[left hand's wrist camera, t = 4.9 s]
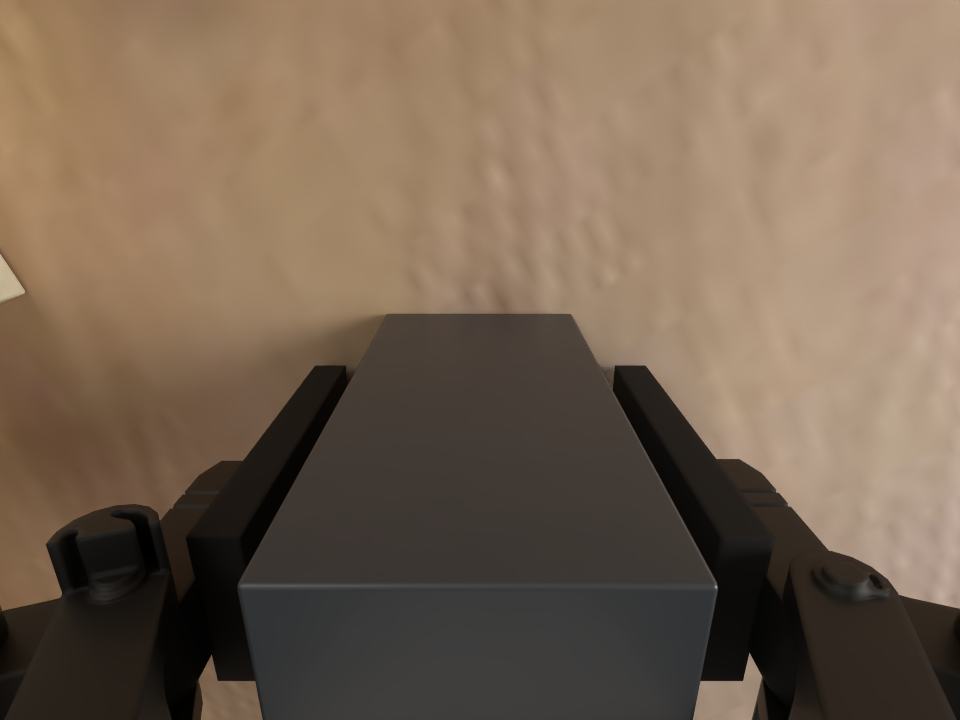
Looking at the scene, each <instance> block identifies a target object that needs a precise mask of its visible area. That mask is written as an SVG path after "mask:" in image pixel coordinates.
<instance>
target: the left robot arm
mask: <svg viewBox="0 0 960 720" xmlns="http://www.w3.org/2000/svg"><path fill="white" fill-rule="evenodd" d="M347 386H348V385H347V374H346V366H315V367H314V368H313V369H312V371H311V372H310V373H309V375H308V376H307V377H306V379H305V380H304V381H303V383H302V384H301V385H300V387H299V388H298V389H297V391H296V392H295V393H294V394H293V396H292V397H291V398H290V400H289V401H288V402H287V404H286V405H285V406H284V408H283V409H282V410H281V412H280V413H279V414H278V416H277V417H276V418H275V420H274V421H273V422H272V424H271V425H270V426H269V428H268V429H267V430H266V431H265V433H264V434H263V435H262V437H261V438H260V439H259V441H258V442H257V443H256V445H255V446H254V447H253V449H252V450H251V451H250V453H249V454H248V455H247V457H246V458H245V459H244V461H221V462H219V463H218V464H216V465H215V466H213V467H211V468H210V469H208V470H207V471H205V472H204V473H202V474H200V475H199V476H198V477H197V479H196V480H195V481H194V482H193V483H192V484H191V486H190V487H189V488H188V489H187V490H186V491H185V495H182V496H181V497H180V498H179V499H178V501H177V502H176V503H175V504H174V507H173V509H170V510H169V511H168V512H167V513H166V515H165V516H164V517H163V518H162V519H161V520H159V516H158V513H157V512H155V511H154V510H153V509H152V508H150V507H148V506H142V505H136V504H131V505H118V506H113V507H109V508H105V509H101V510H97V511H94V512H92V513H89V514H87V515H85V516H82V517H80V518H78V519H75V520H73V521H72V522H70V523H69V524H67V525H66V526H64V527H63V528H61V529H60V530H58V531H57V532H56V533H55V534H54V535H53V536H52V538H51V539H50V540H49V541H48V542H47V543H46V546H47V549H48V552H49V555H50V558H51V561H52V564H53V567H54V570H55V573H56V576H57V579H58V582H59V585H60V588H61V591H62V596H61V598H58V599H55V600H51V601H46V602H41V603H37V604H32V605H28V606H23V607H19V608H14V609H9V610H5V611H2V609H1V606H0V720H201V712H202V704H203V701H202V694H201V688H200V684H199V680H198V679H199V677H200V676H201V674H202V672H203V670H204V668H205V666H206V664H207V662H208V660H209V659H210V657H211V655H212V657H213V661H214V666H215V670H216V674H217V679H218V681H255V677H254V671H253V666H252V661H251V656H250V651H249V646H248V641H247V636H246V631H245V625H244V620H243V615H242V610H241V605H240V600H239V595H238V587H237V586H238V583H239V581H240V579H241V577H242V575H243V574H244V572H245V570H246V568H247V566H248V565H249V563H250V561H251V559H252V557H253V556H254V554H255V552H256V550H257V548H258V547H259V545H260V543H261V541H262V539H263V538H264V536H265V534H266V532H267V530H268V529H269V527H270V525H271V523H272V521H273V520H274V518H275V516H276V514H277V512H278V510H279V509H280V507H281V505H282V503H283V501H284V500H285V498H286V496H287V494H288V492H289V491H290V489H291V487H292V485H293V483H294V482H295V480H296V478H297V476H298V474H299V473H300V471H301V469H302V467H303V465H304V464H305V462H306V460H307V458H308V456H309V455H310V453H311V451H312V449H313V447H314V445H315V444H316V442H317V440H318V438H319V436H320V435H321V433H322V431H323V429H324V427H325V426H326V424H327V422H328V420H329V418H330V417H331V415H332V413H333V411H334V409H335V408H336V406H337V404H338V402H339V400H340V399H341V397H342V395H343V393H344V391H345V390H346V388H347ZM613 392H614V394H615V396H616V398H617V400H618V402H619V403H620V405H621V407H622V409H623V411H624V413H625V415H626V416H627V418H628V420H629V422H630V424H631V426H632V427H633V429H634V431H635V433H636V435H637V437H638V439H639V440H640V442H641V444H642V446H643V448H644V450H645V451H646V453H647V455H648V457H649V459H650V461H651V463H652V464H653V466H654V468H655V470H656V472H657V474H658V475H659V477H660V479H661V481H662V483H663V485H664V486H665V488H666V490H667V492H668V494H669V496H670V498H671V499H672V501H673V503H674V505H675V507H676V509H677V510H678V512H679V514H680V516H681V518H682V520H683V522H684V523H685V525H686V527H687V529H688V531H689V533H690V534H691V536H692V538H693V540H694V542H695V544H696V546H697V547H698V549H699V551H700V553H701V555H702V557H703V558H704V560H705V562H706V564H707V566H708V568H709V569H710V571H711V573H712V575H713V577H714V579H715V581H716V582H717V585H718V592H717V597H716V602H715V607H714V612H713V618H712V623H711V628H710V633H709V638H708V643H707V648H706V654H705V659H704V664H703V669H702V674H701V679H700V681H743V678H744V674H745V669H746V665H747V660H748V656H749V652H750V654H751V656H752V658H753V660H754V662H755V664H756V665H757V667H758V669H759V671H760V673H761V675H762V680H761V684H760V688H759V693H758V697H757V701H756V705H755V709H754V713H753V717H752V720H960V609H958V608H953V607H949V606H944V605H940V604H935V603H930V602H926V601H921V600H917V599H912V598H908V597H904V596H901V595H898V593H897V591H896V590H895V589H894V587H893V586H892V585H891V583H890V582H889V581H888V579H886V578H885V577H884V576H883V575H881V574H880V573H879V572H877V571H876V570H875V569H873V568H872V567H871V566H869V565H867V564H865V563H863V562H861V561H859V560H857V559H855V558H853V557H849V556H846V555H843V554H839V553H836V552H833V551H829V550H828V549H827V548H826V547H825V546H824V545H823V544H822V542H821V541H820V540H819V539H818V538H817V537H816V535H815V534H814V533H813V532H812V531H811V530H810V528H809V527H808V526H807V525H806V524H805V523H804V522H803V520H802V519H801V518H800V517H799V516H798V515H797V513H796V512H795V511H794V510H793V509H792V508H791V507H788V503H787V502H786V501H785V500H784V498H783V497H782V496H781V495H780V494H779V493H776V489H775V488H774V487H773V486H772V485H771V483H770V482H769V481H768V480H767V479H766V478H765V476H764V475H763V474H762V473H761V472H759V471H757V470H756V469H754V468H753V467H751V466H749V465H748V464H746V463H745V462H743V461H741V460H740V459H716V458H715V457H714V456H713V454H712V453H711V452H710V450H709V449H708V448H707V446H706V445H705V444H704V442H703V441H702V440H701V438H700V437H699V436H698V434H697V433H696V432H695V430H694V429H693V428H692V426H691V425H690V424H689V422H688V421H687V420H686V419H685V417H684V416H683V415H682V413H681V412H680V411H679V409H678V408H677V407H676V405H675V404H674V403H673V401H672V400H671V399H670V397H669V396H668V395H667V393H666V392H665V391H664V389H663V388H662V387H661V385H660V384H659V383H658V382H657V380H656V379H655V378H654V376H653V375H652V374H651V372H650V371H649V370H648V368H647V367H646V366H615V372H614V383H613Z"/></svg>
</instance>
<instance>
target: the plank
mask: <svg viewBox="0 0 960 720" xmlns="http://www.w3.org/2000/svg"><path fill="white" fill-rule="evenodd" d="M237 587H238V595H239V600H240V605H241V610H242V615H243V620H244V625H245V631H246V636H247V641H248V646H249V651H250V656H251V661H252V666H253V671H254V677H255V682H256V687H257V692H258V697H259V702H260V707H261V712H262V717H263V720H693V716H694V710H695V705H696V700H697V695H698V690H699V685H700V679H701V674H702V669H703V664H704V659H705V654H706V648H707V643H708V638H709V633H710V628H711V623H712V618H713V612H714V607H715V602H716V597H717V592H718V585H717V582H716V581H715V579H714V577H713V575H712V573H711V571H710V569H709V568H708V566H707V564H706V562H705V560H704V558H703V557H702V555H701V553H700V551H699V549H698V547H697V546H696V544H695V542H694V540H693V538H692V536H691V534H690V533H689V531H688V529H687V527H686V525H685V523H684V522H683V520H682V518H681V516H680V514H679V512H678V510H677V509H676V507H675V505H674V503H673V501H672V499H671V498H670V496H669V494H668V492H667V490H666V488H665V486H664V485H663V483H662V481H661V479H660V477H659V475H658V474H657V472H656V470H655V468H654V466H653V464H652V463H651V461H650V459H649V457H648V455H647V453H646V451H645V450H644V448H643V446H642V444H641V442H640V440H639V439H638V437H637V435H636V433H635V431H634V429H633V427H632V426H631V424H630V422H629V420H628V418H627V416H626V415H625V413H624V411H623V409H622V407H621V405H620V403H619V402H618V400H617V398H616V396H615V394H614V392H613V391H612V389H611V387H610V385H609V383H608V381H607V380H606V378H605V376H604V374H603V372H602V370H601V368H600V367H599V365H598V363H597V361H596V359H595V357H594V356H593V354H592V352H591V350H590V348H589V346H588V344H587V343H586V341H585V339H584V337H583V335H582V333H581V332H580V330H579V328H578V326H577V324H576V322H575V321H574V319H573V317H572V315H570V314H388V315H387V316H386V317H385V319H384V321H383V323H382V325H381V326H380V328H379V330H378V332H377V334H376V335H375V337H374V339H373V341H372V343H371V344H370V346H369V348H368V350H367V352H366V353H365V355H364V357H363V359H362V361H361V362H360V364H359V366H358V368H357V370H356V371H355V373H354V375H353V377H352V379H351V380H350V382H349V384H348V386H347V388H346V390H345V391H344V393H343V395H342V397H341V399H340V400H339V402H338V404H337V406H336V408H335V409H334V411H333V413H332V415H331V417H330V418H329V420H328V422H327V424H326V426H325V427H324V429H323V431H322V433H321V435H320V436H319V438H318V440H317V442H316V444H315V445H314V447H313V449H312V451H311V453H310V455H309V456H308V458H307V460H306V462H305V464H304V465H303V467H302V469H301V471H300V473H299V474H298V476H297V478H296V480H295V482H294V483H293V485H292V487H291V489H290V491H289V492H288V494H287V496H286V498H285V500H284V501H283V503H282V505H281V507H280V509H279V510H278V512H277V514H276V516H275V518H274V520H273V521H272V523H271V525H270V527H269V529H268V530H267V532H266V534H265V536H264V538H263V539H262V541H261V543H260V545H259V547H258V548H257V550H256V552H255V554H254V556H253V557H252V559H251V561H250V563H249V565H248V566H247V568H246V570H245V572H244V574H243V575H242V577H241V579H240V581H239V583H238V586H237Z"/></svg>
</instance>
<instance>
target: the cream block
mask: <svg viewBox="0 0 960 720" xmlns="http://www.w3.org/2000/svg"><path fill="white" fill-rule="evenodd" d="M24 293H25V290H24V289H23V287H22V286H21V284H20V283H19V281H18V280H17V278H16V277H15V275H14V274H13V272H12V271H11V269H10V268H9V266H8V265H7V263H6V262H5V260H4V259H3V257H2V256H1V254H0V303H3V302H5V301H8V300H10V299H13V298H15V297H18V296H21V295H23V294H24Z"/></svg>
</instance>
